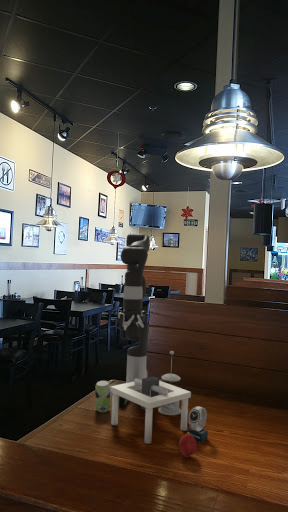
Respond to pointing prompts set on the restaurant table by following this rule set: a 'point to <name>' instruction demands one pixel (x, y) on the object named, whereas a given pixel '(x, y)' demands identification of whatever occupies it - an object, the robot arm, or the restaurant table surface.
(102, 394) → the beverage can
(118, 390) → the square frame stand
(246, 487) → the restaurant table surface
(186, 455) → the onion
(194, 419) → the watch
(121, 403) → the mobile phone
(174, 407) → the french press
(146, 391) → the grey u-shaped bracket
